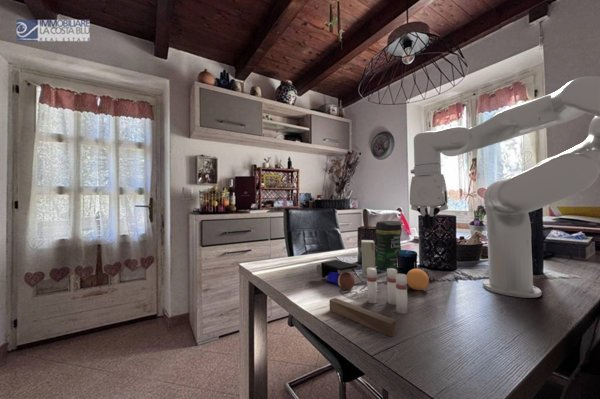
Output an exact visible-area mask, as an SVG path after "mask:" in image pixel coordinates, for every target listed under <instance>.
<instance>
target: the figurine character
mask: <svg viewBox="0 0 600 399" xmlns="http://www.w3.org/2000/svg"><path fill="white" fill-rule="evenodd" d="M355 268H358V265H357V264H354V263H350V262H348V261H347V262H346V261H342V260H338V259H334V260H328V261H324V262H323V261H322V262H321V263H320V264H317V265H316V272H317V273H318V275H319V276H321V278H323V279H322V280H323V281H325V282H330V283H331V282H332V283H335V284H338V286H339V287H340V288H341V289H343V290H351V289H352V288H353V287H354V286H355V283H356V280H355V276H354V275H353V274H352V273H350V272H345V270H346V271H347V270H351V269H355ZM339 271H341V272H342V271H344V272H342V273H339Z"/></svg>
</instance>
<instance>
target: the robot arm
mask: <svg viewBox="0 0 600 399" xmlns="http://www.w3.org/2000/svg"><path fill="white" fill-rule="evenodd" d="M586 114H588V115H590V116H594V117H593V118H592V120H591V121H590V123H589V126H588V133H587V136H586V139H585V140H584V141H582V142H581V143H579V144H577V145H575V146H573V147H572V148H569V149H567V150H565V151H563V152H561V153H559V154H557V155H553V156H550V157H547V158H546V159H545V158H544V159H543V160H541V161H539V162H538V163H536V164H535V165H533V166H532V167H531V168H529V169H527V170H525V171H523V172H520V173H518V174H515V175H514V176H511V177H507V178H506V177H505V178H503V179H499V180H496V181H494V182H493V183H491V184H490V185H489V186H488V187H487V188H486V190H485V192H484V196H483V201H484V202H483V203H484V204H483V205H484V209H485V210H484V211H485V216H486V225H487V226H486V228H487V230H486V231H487V256H488V257H487V259H488V279H486V280H485V279H484V280H483V281H482V287H483V288H484V289H486V290H488V291H490V292H493V293H496V294H500V295H503V296H508V297H509V296H510V297H514V298H515V297H516V298H525V299H533V298H539V297H541V296H542V290H541V289H540V288H539V287H537V286H535V285H534V277H533V276H534V273H533V254H532V252H533V251H532V226H531V224H532V223H531V219H530V215H529V213H531V212H534V211H537V210H540V209H542V208H545V207H547V206H550V205H552V204H554V203H557V202H560V201H562V200H565V199H567V198H570V197H572V196H574V195H577V194H578V193H581V192H583V191H585V190H587V189H588V188H590V187H591V186H592V185H594V183H595V182H596V181H597V180H598V178H599V175H600V76H595V75H594V76H591V75H590V76H581V77H576V78H574V79H573V80H570V81H569V82H567V83H566V84H565V85H563V86H562V87H561V88H559V89H558V90H556V91H554V92H552V93H549V94H547V95H543V96H540V97H537V98H534V99H532V100H529V101H526V102H523V103H519V104H517V105H513V106H511V107H508V108H505V109H503V110H501V111H499V112H498V113H496V114H495V115H493V116H491V117H490V118H489V119H487V120H485V121H483V122H481V123H478V124H477V125H474V126H472V127H469V128H467V127H465V126H463V125H462V126H461V125H460V126H459V125H456V126H455V125H454V126H451V127H447V128H443V129H439V130H436V131H435V130H434V131H433V130H431V131H430V130H428V131H427V130H426V131H423V132H419V133H417V134H415V136H414V137H413V159H414V160H413V161H414V162H413V163H414V164H413V165H414V167H413V169H410V174H412V175H414V176H412V177H411V181H410V186H409V188H410V189H409V204H410V206H411V207H410V210H413V211H415V212H418V213H419V214H420V215H421V216H422V225H423V226H424V229H425V230H433V229H435V227H436V217H437V215H438V214H439V213H441V212H442V211H446V210H448V209H449V206H448V190H447V184H446V180H445V177H444V174H442V164H441V163H442V161H441V160H442V159H441V154H442V155H443V156H445V157H456V156H461V155H464V154H467V153H470V152H474V151H477V150H480V149H483V148H486V147H489V146H492V145H495V144H498V143H502V142H506V141H509V140H511V139H514V138H518V137H521V136H523V135H527V134H530V133H534V132H538V131H540V130H544V129H547V128H550V127H554V126H558V125H561V124H564V123H567V122H570V121H572V120H575V119H578V118H579V117H581V116H583V115H586Z"/></svg>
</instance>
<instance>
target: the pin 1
mask: <svg viewBox="0 0 600 399" xmlns="http://www.w3.org/2000/svg"><path fill="white" fill-rule="evenodd" d="M377 273H378V272H377V268H376V267H375V268H367V278H366V281H367V282H366V285H367V286H366V287H367V303H369V304H377V303H378V281H377V280H378V279H377V278H378V277H377V276H378V275H377Z"/></svg>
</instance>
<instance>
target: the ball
mask: <svg viewBox="0 0 600 399" xmlns="http://www.w3.org/2000/svg"><path fill="white" fill-rule="evenodd" d="M406 275H407V284H408V285H407V286H409V287H410V288H411V289H412V290H416V291H422V290H425V289H426V288H427V287H428V285H429V283H430V279H429V276H428V275H427V272H425V271H424V270H423V269H419V268H412V269H410V270H409V271H408V272H407V274H406Z"/></svg>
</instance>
